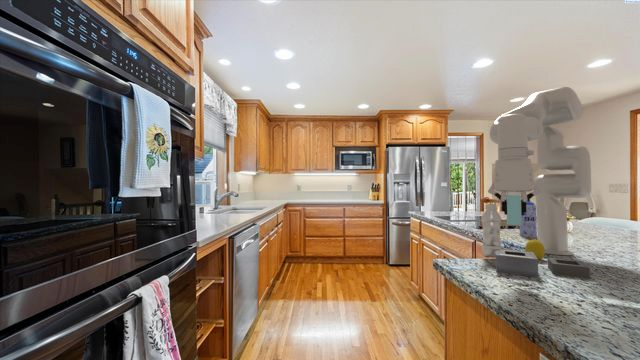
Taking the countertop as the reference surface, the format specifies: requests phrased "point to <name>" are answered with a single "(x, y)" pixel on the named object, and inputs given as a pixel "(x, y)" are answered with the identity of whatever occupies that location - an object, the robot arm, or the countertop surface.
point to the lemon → (535, 248)
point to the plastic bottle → (491, 230)
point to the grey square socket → (568, 268)
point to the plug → (513, 208)
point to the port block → (516, 262)
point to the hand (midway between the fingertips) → (513, 214)
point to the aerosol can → (529, 221)
